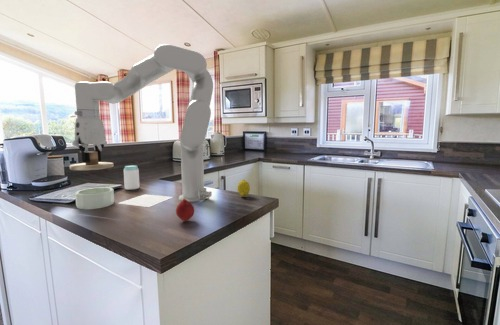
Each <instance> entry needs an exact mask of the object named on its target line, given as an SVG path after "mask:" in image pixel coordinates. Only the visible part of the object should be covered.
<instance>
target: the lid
mask: <svg viewBox="0 0 500 325" xmlns="http://www.w3.org/2000/svg"><path fill="white" fill-rule="evenodd" d="M88 152H89V156H90V162H89V163H83V162H81V163H74V164H70V165H69V167H68V168H69V170H71V171H97V170H104V169H105V170H106V169H111V168H114V162H110V161H98V152H96V151H95V150H93V151H88Z"/></svg>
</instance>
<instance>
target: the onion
mask: <svg viewBox="0 0 500 325" xmlns="http://www.w3.org/2000/svg"><path fill="white" fill-rule="evenodd" d="M175 214H176V216H177V217H178V218H179V219H180V220H182V221H183V222H184V223H185V222H188V221H189V220H190V219H191V218H192V217H193V215H194V214H195V207H194V205H193V204H192V202H189V201H187V200H186V199H185V198H183V201H180V202H179V203H178V205H176V209H175Z"/></svg>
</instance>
